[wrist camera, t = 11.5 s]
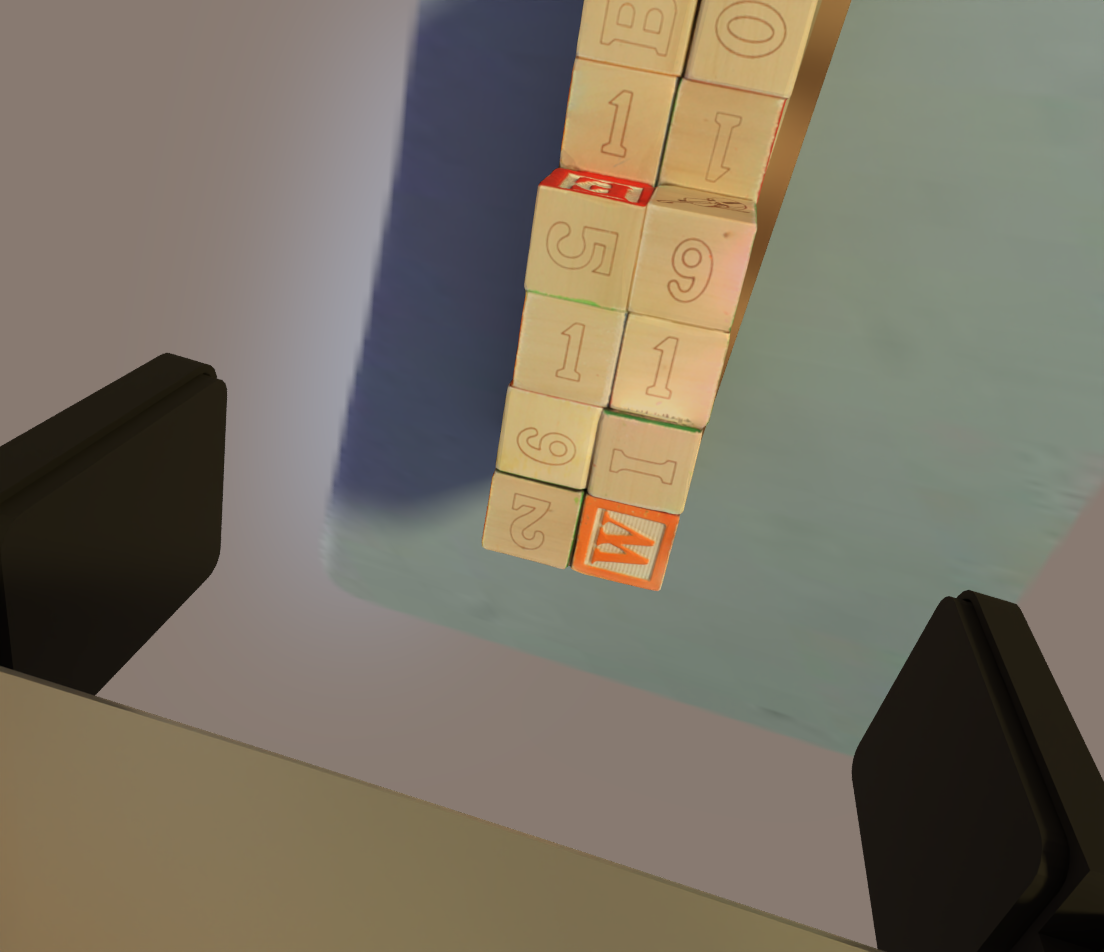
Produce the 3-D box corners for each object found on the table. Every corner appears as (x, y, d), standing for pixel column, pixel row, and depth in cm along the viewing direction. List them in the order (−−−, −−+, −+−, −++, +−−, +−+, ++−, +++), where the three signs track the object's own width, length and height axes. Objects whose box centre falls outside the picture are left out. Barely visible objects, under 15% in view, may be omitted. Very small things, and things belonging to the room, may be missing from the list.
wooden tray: (651, -209, 32) (642, -233, 29) (894, -152, 31) (910, -170, 28) (509, 437, 45) (493, 465, 42) (679, 486, 44) (675, 517, 41)
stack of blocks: (650, -148, 30) (601, -250, 19) (832, -115, 29) (888, -200, 18) (546, 412, 40) (476, 553, 29) (679, 444, 39) (658, 599, 29)
